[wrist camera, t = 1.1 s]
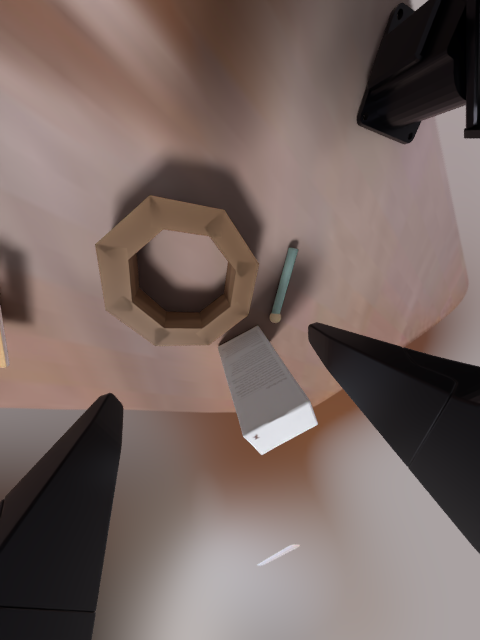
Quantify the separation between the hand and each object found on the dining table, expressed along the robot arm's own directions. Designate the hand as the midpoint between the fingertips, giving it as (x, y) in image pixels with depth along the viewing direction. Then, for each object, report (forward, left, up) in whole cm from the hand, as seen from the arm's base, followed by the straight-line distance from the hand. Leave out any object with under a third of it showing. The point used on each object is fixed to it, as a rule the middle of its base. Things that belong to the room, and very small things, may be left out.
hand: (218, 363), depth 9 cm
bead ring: (+1, 0, -14) cm, 14 cm away
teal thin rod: (-10, 0, -14) cm, 17 cm away
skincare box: (-7, +9, -14) cm, 18 cm away
